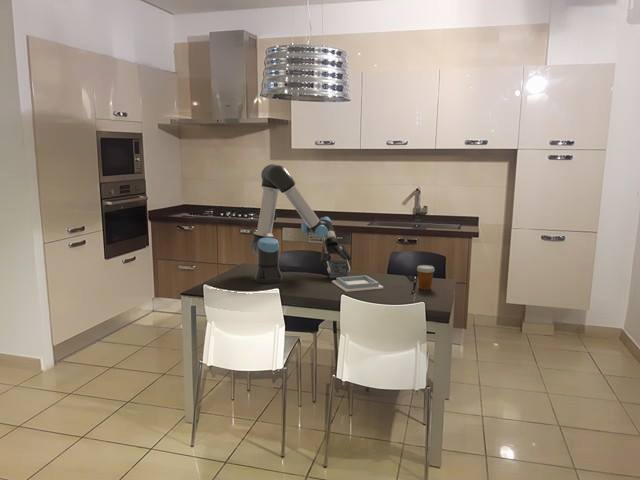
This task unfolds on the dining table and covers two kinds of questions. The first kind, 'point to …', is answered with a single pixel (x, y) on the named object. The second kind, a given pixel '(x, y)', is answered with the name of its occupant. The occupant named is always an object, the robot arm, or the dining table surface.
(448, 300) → the dining table surface
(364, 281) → the tray
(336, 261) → the small box
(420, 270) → the pill bottle
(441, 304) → the dining table surface
